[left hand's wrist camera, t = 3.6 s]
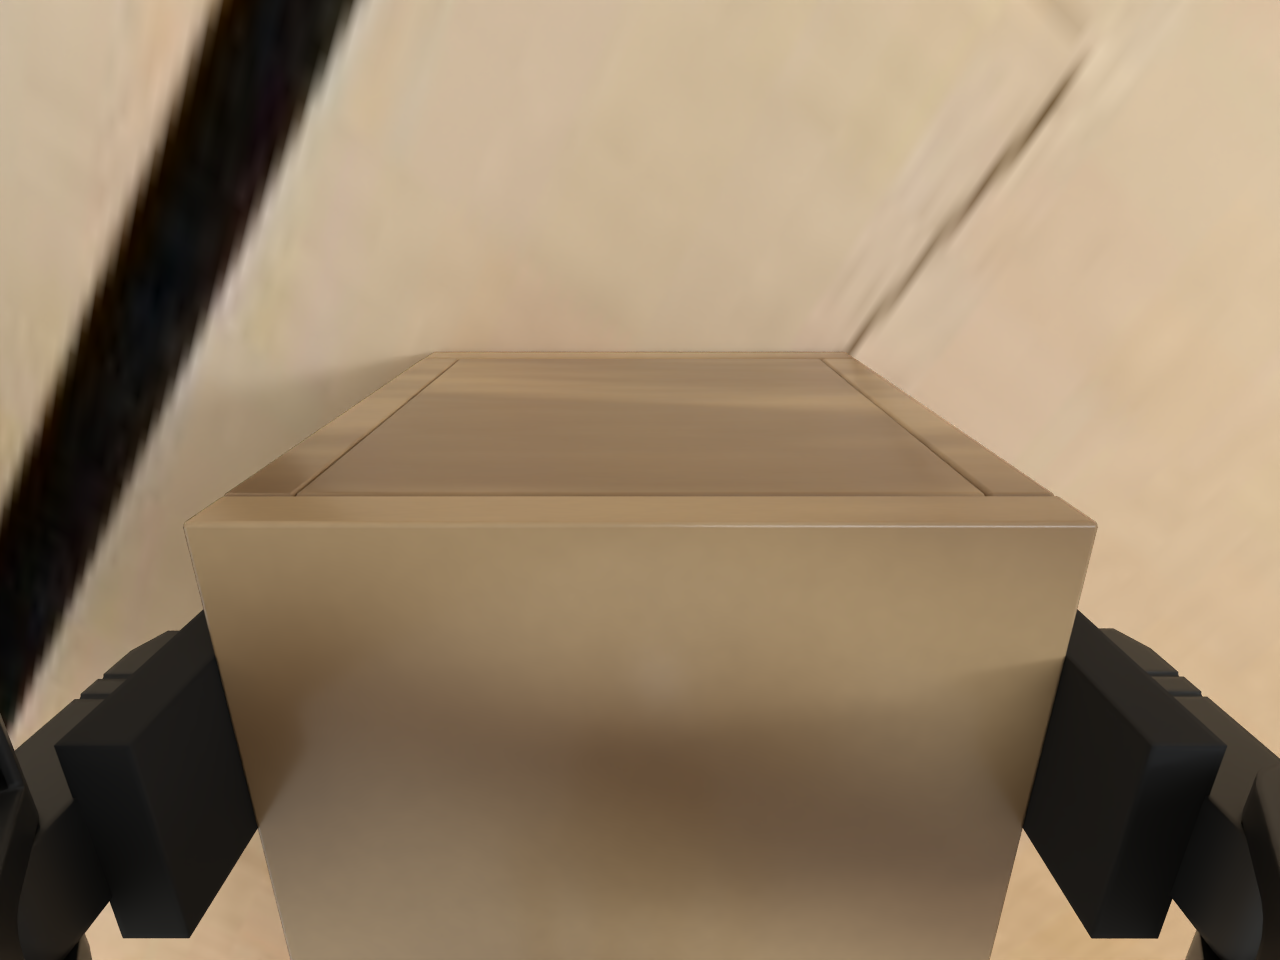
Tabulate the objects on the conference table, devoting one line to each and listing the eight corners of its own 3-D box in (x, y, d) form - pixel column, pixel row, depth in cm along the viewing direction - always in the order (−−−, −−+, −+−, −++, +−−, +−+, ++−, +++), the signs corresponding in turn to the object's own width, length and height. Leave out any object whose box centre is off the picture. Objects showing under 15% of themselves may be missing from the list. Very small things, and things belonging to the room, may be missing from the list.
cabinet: (785, 944, 25) (878, 1409, 15) (493, 944, 25) (400, 1410, 15) (846, 351, 18) (1102, 522, 8) (432, 351, 17) (179, 523, 8)
